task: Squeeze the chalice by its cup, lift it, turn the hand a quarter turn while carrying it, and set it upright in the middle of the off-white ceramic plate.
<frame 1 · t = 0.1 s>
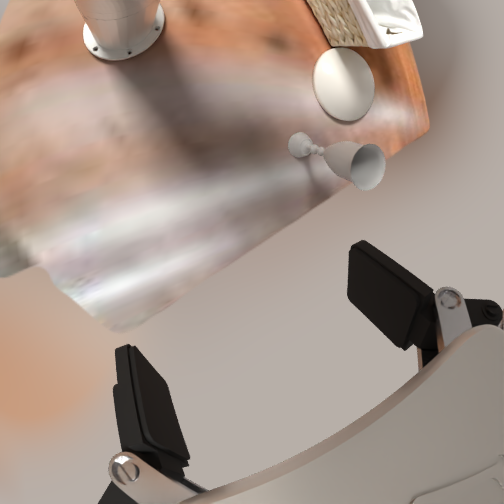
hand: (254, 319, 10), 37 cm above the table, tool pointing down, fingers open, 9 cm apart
plate: (344, 83, 44), on the table
chalice: (299, 144, 48), on the table
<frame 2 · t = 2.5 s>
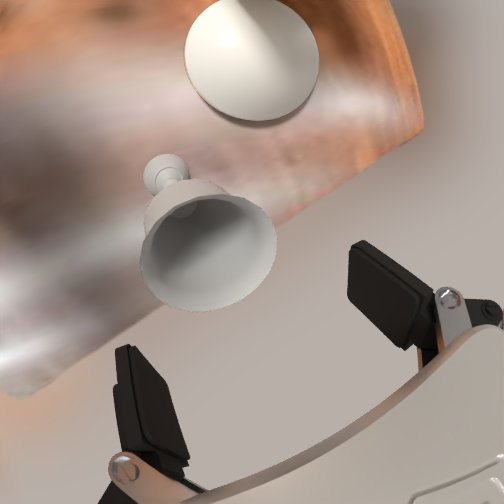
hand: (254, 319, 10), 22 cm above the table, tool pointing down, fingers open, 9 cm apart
plate: (255, 55, 24), on the table
chalice: (165, 175, 28), on the table
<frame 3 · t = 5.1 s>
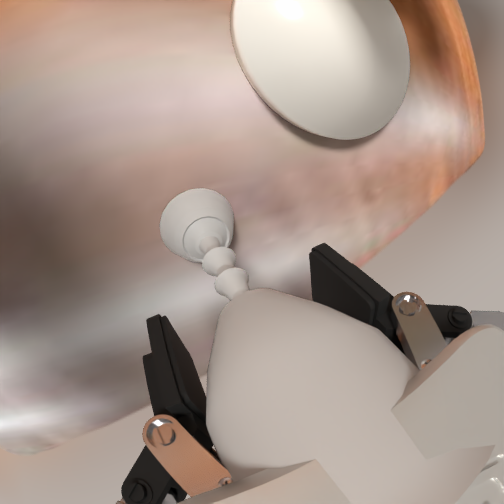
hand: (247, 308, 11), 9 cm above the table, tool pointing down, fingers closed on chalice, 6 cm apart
plate: (334, 39, 14), on the table
chalice: (197, 223, 18), on the table, touching gripper
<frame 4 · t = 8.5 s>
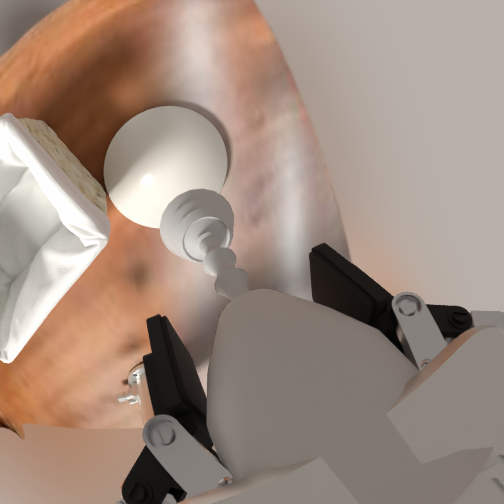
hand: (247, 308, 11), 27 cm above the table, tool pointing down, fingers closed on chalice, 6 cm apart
storage basket: (29, 212, 27), on the table
plate: (165, 167, 32), on the table
chalice: (197, 224, 18), point 19 cm above the table, touching gripper
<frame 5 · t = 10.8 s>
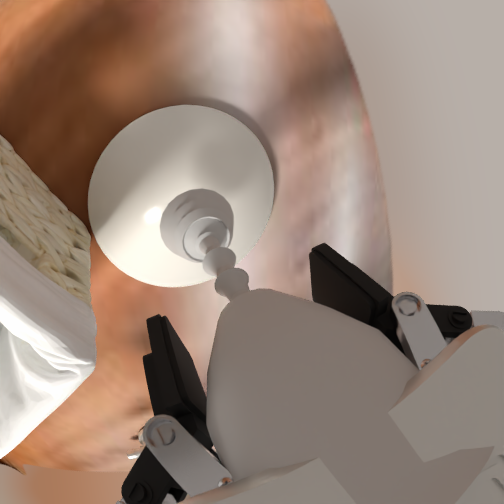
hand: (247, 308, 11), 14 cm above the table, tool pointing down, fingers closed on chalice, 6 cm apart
plate: (182, 200, 22), on the table
chalice: (197, 224, 18), point 6 cm above the table, touching gripper
when the fingers open (11 cm above the table, at t = 12.4 s): chalice drops 1 cm, resting on plate.
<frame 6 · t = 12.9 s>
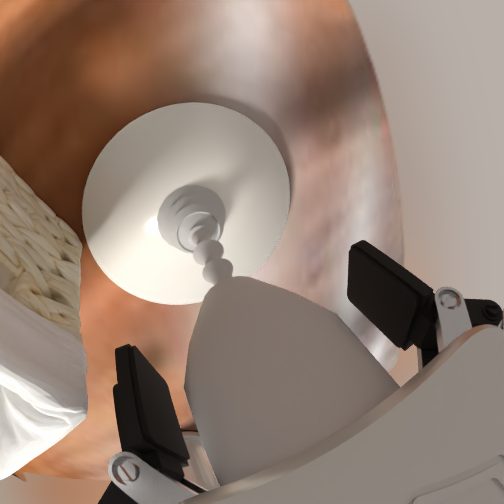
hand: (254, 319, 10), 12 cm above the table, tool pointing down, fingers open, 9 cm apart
plate: (188, 209, 20), on the table
chalice: (191, 218, 19), point 1 cm above the table, touching plate
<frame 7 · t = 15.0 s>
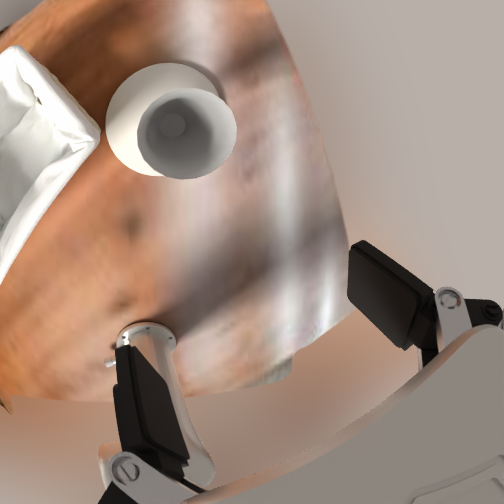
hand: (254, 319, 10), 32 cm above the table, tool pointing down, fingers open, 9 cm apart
storage basket: (27, 154, 26), on the table
plate: (163, 118, 32), on the table
chalice: (164, 120, 32), point 1 cm above the table, touching plate
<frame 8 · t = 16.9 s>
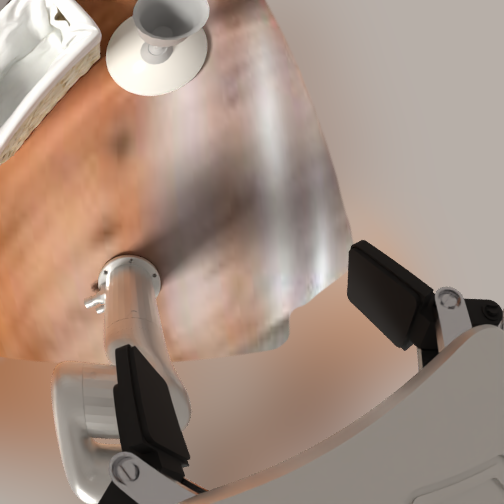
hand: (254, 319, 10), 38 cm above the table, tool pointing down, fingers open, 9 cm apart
storage basket: (33, 81, 25), on the table
plate: (156, 50, 31), on the table
chalice: (156, 50, 31), point 1 cm above the table, touching plate
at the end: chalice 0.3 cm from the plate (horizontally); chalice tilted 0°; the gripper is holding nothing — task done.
